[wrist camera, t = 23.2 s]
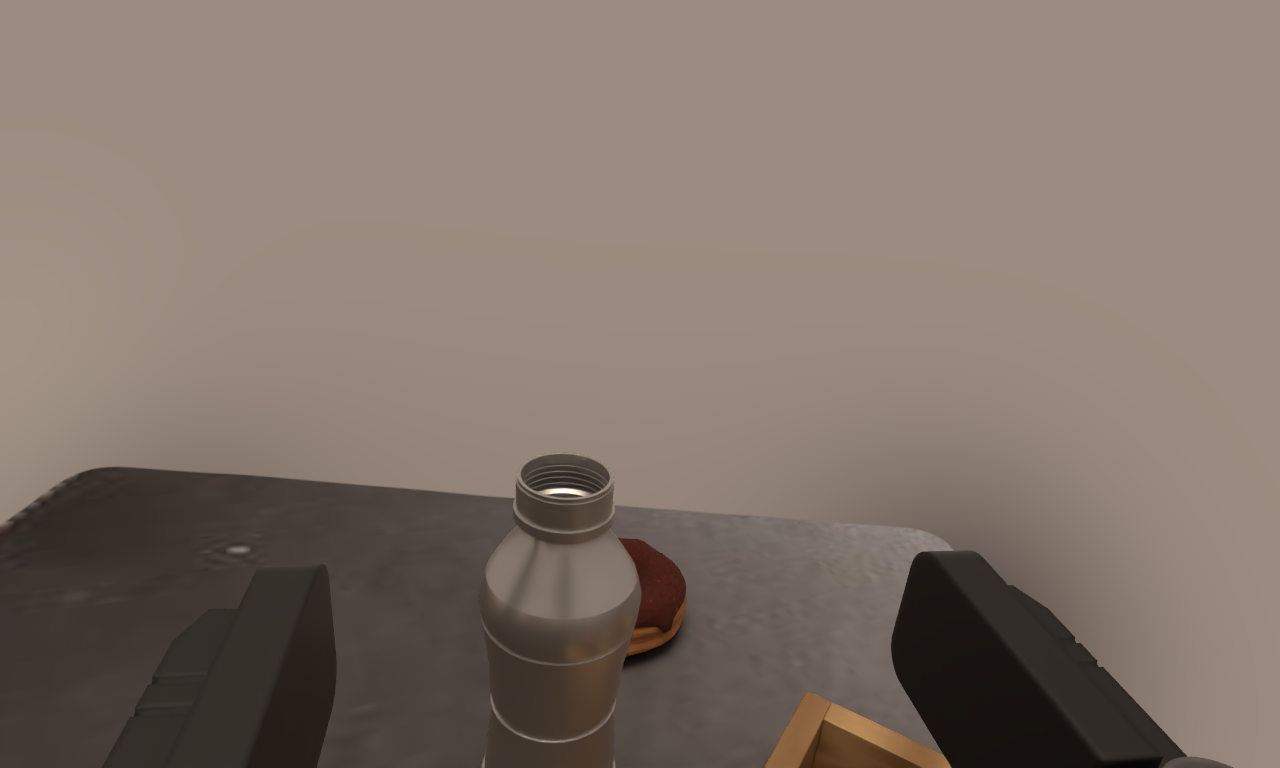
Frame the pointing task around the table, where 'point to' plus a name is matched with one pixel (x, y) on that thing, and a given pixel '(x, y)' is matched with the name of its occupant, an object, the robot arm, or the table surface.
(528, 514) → the grey metal bottle
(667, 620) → the donut
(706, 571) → the table surface
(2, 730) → the table surface
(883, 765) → the caddy
